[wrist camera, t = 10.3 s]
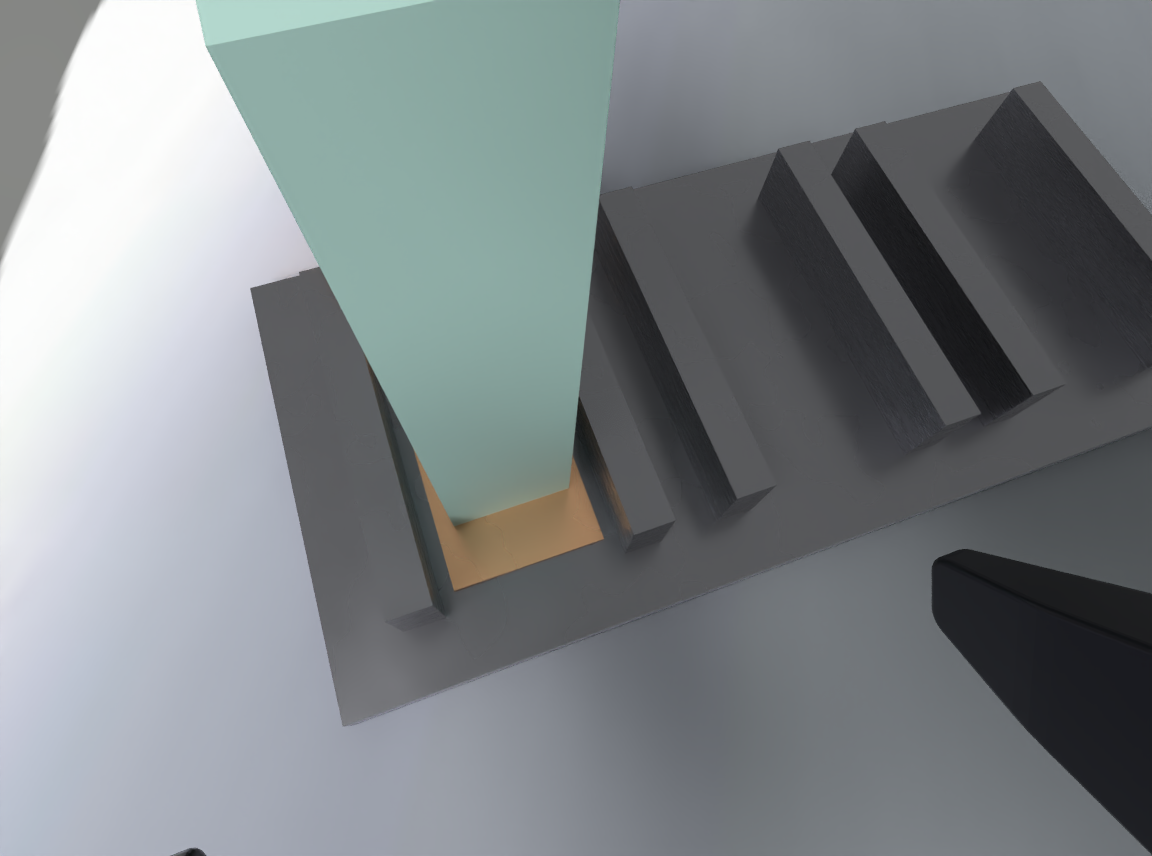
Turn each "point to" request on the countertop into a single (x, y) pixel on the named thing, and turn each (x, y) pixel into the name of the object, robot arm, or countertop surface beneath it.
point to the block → (443, 206)
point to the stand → (738, 389)
